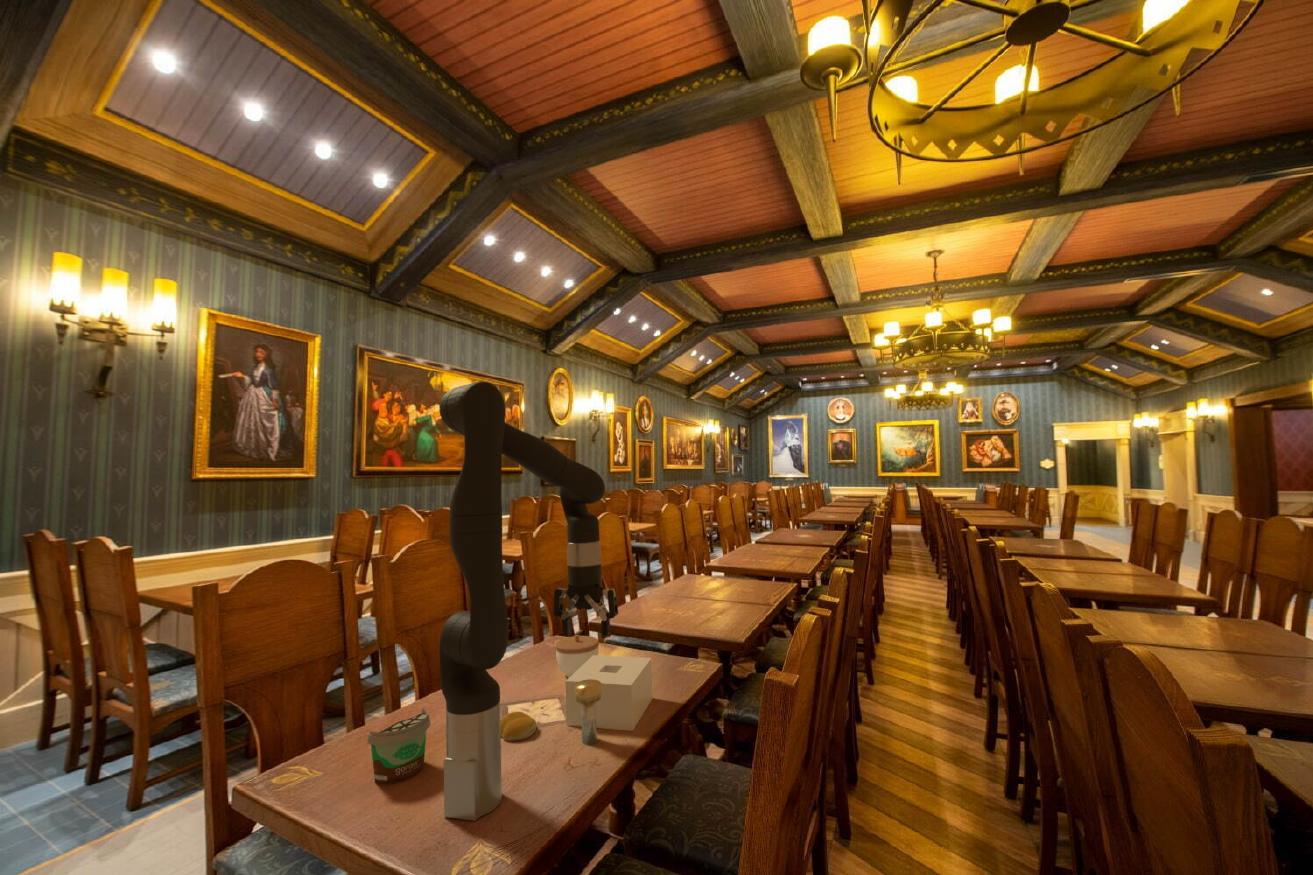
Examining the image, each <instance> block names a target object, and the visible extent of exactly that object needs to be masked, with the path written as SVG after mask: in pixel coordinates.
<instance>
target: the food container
mask: <svg viewBox="0 0 1313 875" xmlns="http://www.w3.org/2000/svg"><path fill="white" fill-rule="evenodd" d="M431 723H432V722H431V719H430V715H429V713H428V711H427V710H426V709H424V708H422V709H421V713H419V714H417V715H415V716H412V717H410V718H407V719H403V720H400V721H398V722H395V723H393V724H392V725H390V726H388V727H387V728H385V729H383V730H381V731H372V730H370V731H369V734H368V738H367V744H369V745H370V747H371V757H372V767H373V777H374V783H375V784H378V785H393V784H398V783H402V782H405V781H408V780H410V779H412V778H414V777H416V776H417V775H418V774H420V773H421V772H422V770H423V769H424V765H425V752H426V744H427V743H426V741H427V731H428V729H429V728H430V726H431Z"/></svg>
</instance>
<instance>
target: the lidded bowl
mask: <svg viewBox="0 0 1313 875" xmlns="http://www.w3.org/2000/svg"><path fill="white" fill-rule="evenodd" d="M599 641H600V640H599V639H598V638H597V637H594V636H589V635H579V634H575V635H573V636H569V637H564V638H562V639H559V640H558V641H556V642H555V646H554V647H555V656H556V662H557V666H558V668H559V670H560V671H561V672H562V673H563V674H564V675H565V677H566V678H567V679H568V678H569V677H570V676H571V675H573V674H574V673H575V672H576V671H577V670H578V669H579V668H580V667H581V666H582V665H583V664H584V663H585V662H587V661H588V660H589V659H590V658H591V657H592V656H593V655H598V656H599V645H600V642H599Z"/></svg>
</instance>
